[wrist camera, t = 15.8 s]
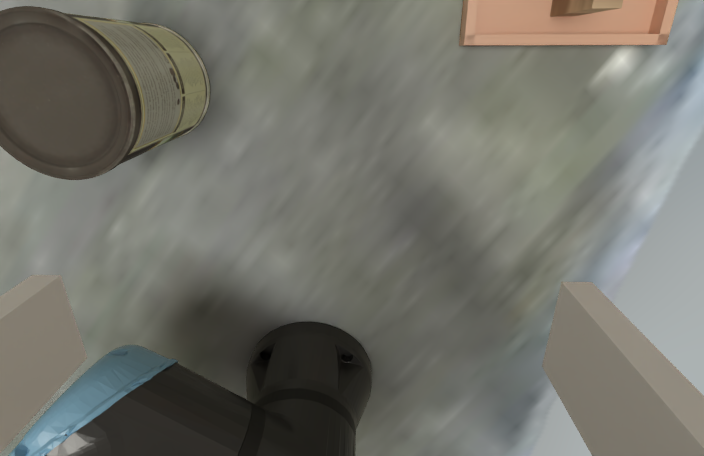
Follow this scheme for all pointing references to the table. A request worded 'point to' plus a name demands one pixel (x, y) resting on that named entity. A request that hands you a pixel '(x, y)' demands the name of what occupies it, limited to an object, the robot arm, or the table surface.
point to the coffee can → (93, 90)
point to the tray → (564, 24)
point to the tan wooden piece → (582, 7)
